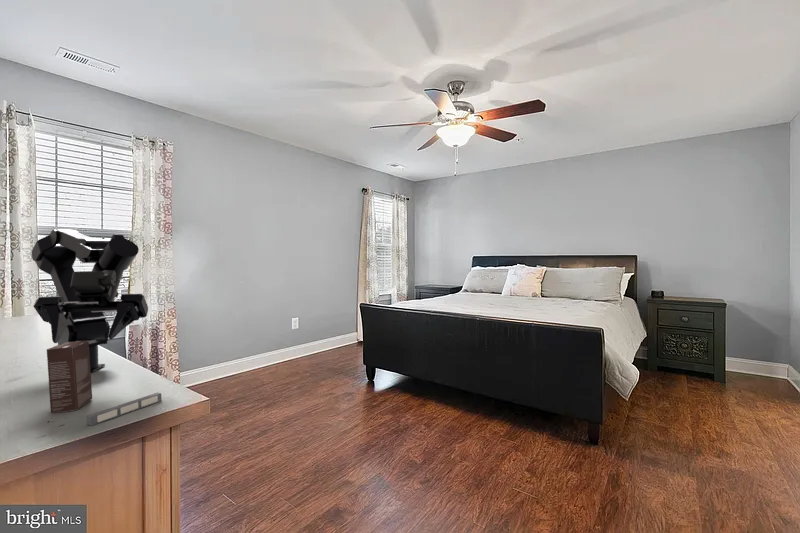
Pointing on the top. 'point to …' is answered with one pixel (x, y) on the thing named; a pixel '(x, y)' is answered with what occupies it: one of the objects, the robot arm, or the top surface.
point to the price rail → (123, 409)
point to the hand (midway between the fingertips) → (82, 340)
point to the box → (69, 376)
